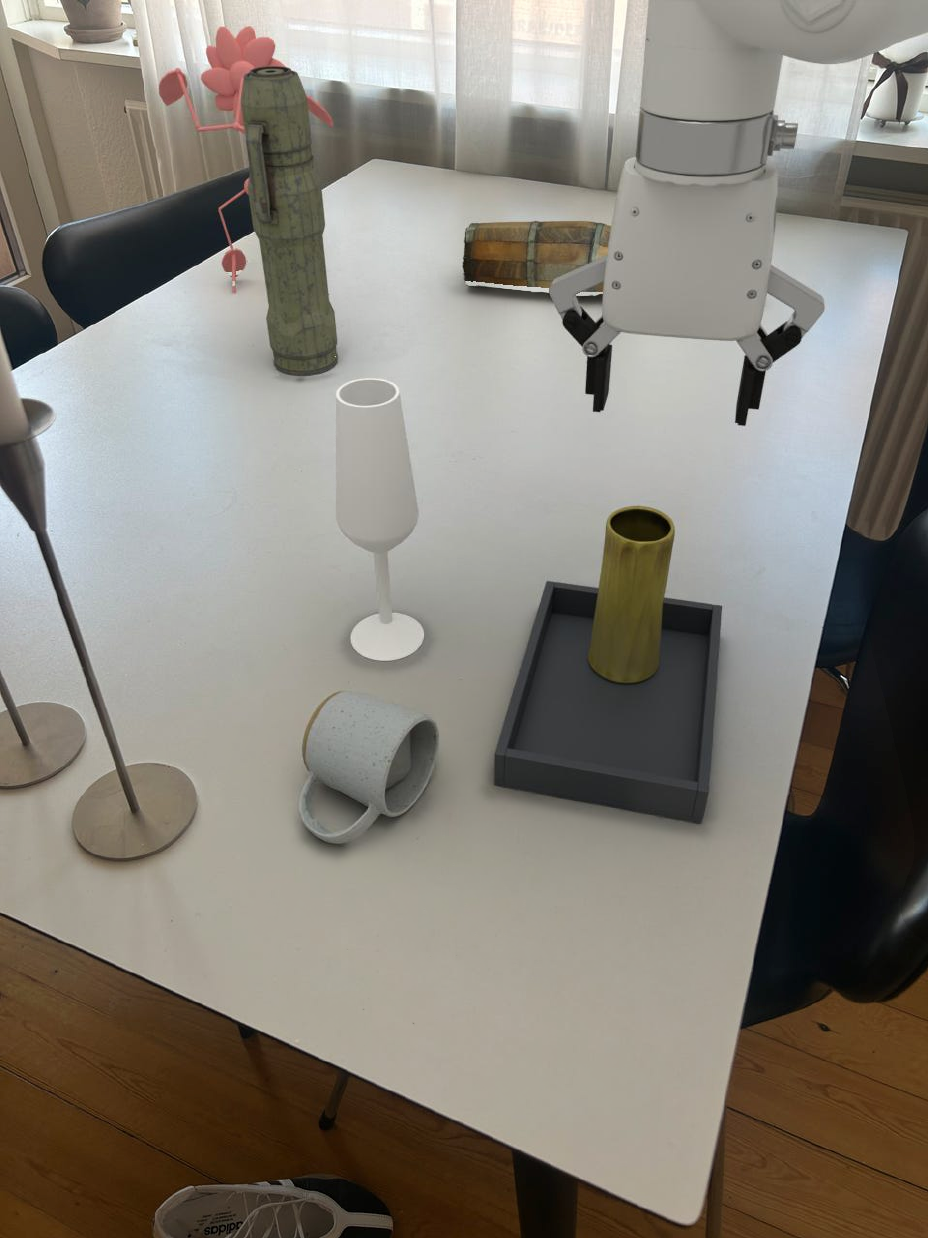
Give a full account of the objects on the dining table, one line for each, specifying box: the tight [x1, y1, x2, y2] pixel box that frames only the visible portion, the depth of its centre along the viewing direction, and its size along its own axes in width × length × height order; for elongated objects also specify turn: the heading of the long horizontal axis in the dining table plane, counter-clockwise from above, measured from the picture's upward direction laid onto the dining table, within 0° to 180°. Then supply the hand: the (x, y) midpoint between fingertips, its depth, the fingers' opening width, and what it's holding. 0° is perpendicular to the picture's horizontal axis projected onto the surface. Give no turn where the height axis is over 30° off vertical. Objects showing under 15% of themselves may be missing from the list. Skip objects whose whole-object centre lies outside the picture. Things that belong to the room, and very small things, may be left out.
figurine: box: [158, 25, 335, 293], centre depth 144 cm, size 15×26×35 cm, turn 80°
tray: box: [493, 580, 723, 825], centre depth 79 cm, size 16×22×4 cm
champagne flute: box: [335, 377, 425, 662], centre depth 79 cm, size 7×7×24 cm
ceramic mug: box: [298, 690, 440, 845], centre depth 71 cm, size 11×8×8 cm
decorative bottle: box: [462, 220, 611, 292], centre depth 144 cm, size 11×11×45 cm
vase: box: [588, 505, 676, 684], centre depth 79 cm, size 6×6×14 cm
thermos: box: [241, 66, 339, 377], centre depth 120 cm, size 9×12×35 cm
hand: (669, 409), depth 67 cm, fingers open, 9 cm apart
